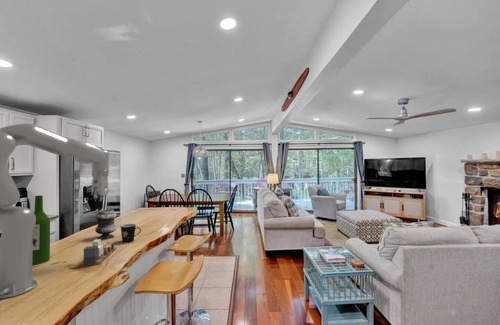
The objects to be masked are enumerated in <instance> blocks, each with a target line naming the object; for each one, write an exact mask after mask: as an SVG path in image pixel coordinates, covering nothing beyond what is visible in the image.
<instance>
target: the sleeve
mask: <svg viewBox="0 0 500 325" xmlns="http://www.w3.org/2000/svg"><path fill="white" fill-rule="evenodd" d="M91 246H98V257H100V256H101V255H102V254H103V244H102V240H101V239H97V238H96V239H94V240H93V241H92V243H91Z"/></svg>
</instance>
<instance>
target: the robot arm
mask: <svg viewBox="0 0 500 325" xmlns="http://www.w3.org/2000/svg"><path fill="white" fill-rule="evenodd" d="M18 146H30V147H33V148H36V149H40V150H42V151H44V152H47V153H51V154H53V155H59V156H64V157H65V156H67V157H73V159H74V160H75V161H76V162H77V163H79V164H83V165H84V164H85V165H86V164H87V165H90V164H91V177H92V181H91V191H90V192H91V195H92V196H93V199H94V210H104V209H103V207H104V198H105V196H106V195H108V194H109V179H108V177H109V172H110V171H109V170H110V168H109V167H110V152H109V150H103V149H101V148H99V147H98V146H95V145H93V144H90V143H87V142H85V141H81V140H78V139H74V138H70V137H66V136H64V135H61V134H58V133H56V132H53V131H51V130H48V129H46V128H43V127H41V126H39V125H36V124H33V123H20V124H19V123H18V124H12V125H7V126H4V127H0V232H2V233H1V235H0V299H8V298H12V297H16V296H20V295H22V294H26V293H28V292H30V291H32V290H33V289H35V288H36V287H37V286H38V280H36V279H33V265H32V254H33V231H34V227H35V223H36V216H35V214H34V211H33V210H32V209H30V208H28V207H24V206H15V204H17V203H18V201H19V200H20V197H21V196H20V195H21V194H20V191H19V189H18V187H17V185H16V183H15V182H14V179H13V178H12V176H11V174H10V172H9V168H8V159H9V158H10V156H11V155H12V153H14V151H15V150H16V147H18Z"/></svg>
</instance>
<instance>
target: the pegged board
mask: <svg viewBox="0 0 500 325" xmlns="http://www.w3.org/2000/svg"><path fill="white" fill-rule="evenodd" d="M109 243H110V241H109V240H107V241H105V242H104V243H102V245H103V254H102V255H101V256H100V257H98V246H92V245H90V246H86V247H84V248H83V260H82V261H80V262H78V263H79V266H80V267H81V266H83V267H84V266H95V265H101V264H102V263H103V262H104V261H105V260H106V259H107V258H108V257H110V255H112V253H114V252H115V251H116V250H117V246H115V243H111V244H110V245H111V246H108V244H109ZM106 246H107V247H106Z"/></svg>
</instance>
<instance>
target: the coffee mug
mask: <svg viewBox="0 0 500 325" xmlns="http://www.w3.org/2000/svg"><path fill="white" fill-rule="evenodd" d="M136 226H137V224H136V223H125V224H121V225H120V232H121V240H122V243H123V244H128V243H132V242H134V241H135V237H136V236H139V234H140V233H141V231H142V229H141V228H140V227H138V226H137V227H136ZM137 229H138V230H139V232H138V233H136V230H137ZM135 233H136V234H135Z"/></svg>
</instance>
